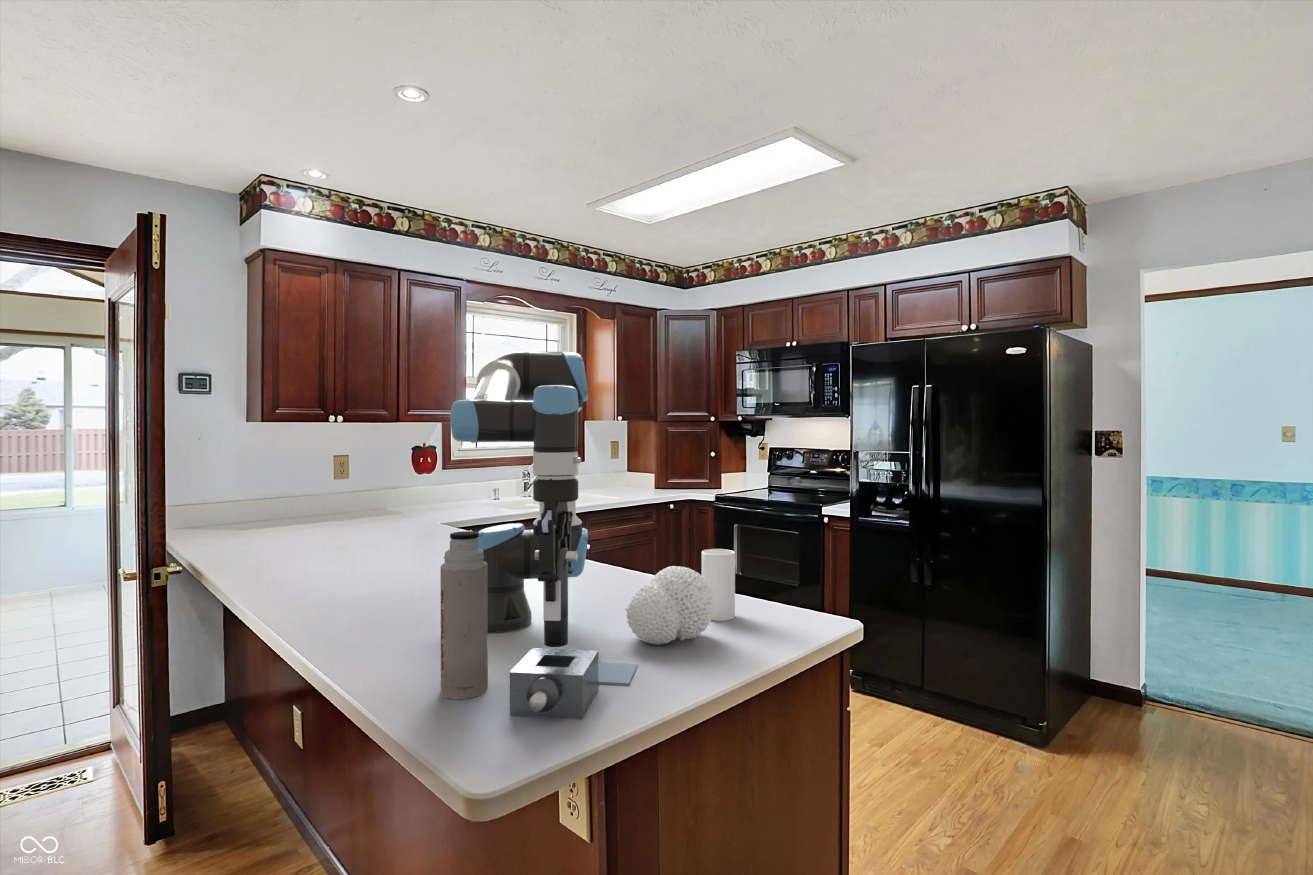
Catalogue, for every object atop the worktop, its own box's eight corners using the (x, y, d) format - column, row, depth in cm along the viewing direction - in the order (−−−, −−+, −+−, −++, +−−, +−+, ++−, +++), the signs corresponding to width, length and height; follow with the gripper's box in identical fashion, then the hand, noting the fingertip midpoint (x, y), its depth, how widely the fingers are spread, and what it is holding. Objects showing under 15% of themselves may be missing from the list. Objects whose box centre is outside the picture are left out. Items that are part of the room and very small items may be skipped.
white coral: (683, 584, 162) (680, 539, 151) (733, 632, 151) (733, 587, 140) (616, 631, 153) (608, 587, 143) (664, 685, 142) (659, 641, 132)
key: (532, 646, 111) (532, 550, 111) (539, 639, 115) (539, 546, 115) (573, 647, 110) (573, 551, 110) (579, 640, 114) (579, 547, 114)
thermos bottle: (435, 700, 114) (435, 536, 113) (446, 682, 122) (446, 529, 121) (483, 698, 114) (483, 535, 114) (491, 681, 122) (490, 528, 122)
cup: (733, 621, 161) (733, 555, 160) (699, 619, 162) (699, 554, 162) (736, 612, 169) (736, 549, 169) (703, 610, 170) (703, 548, 170)
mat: (574, 682, 122) (574, 680, 122) (587, 663, 132) (587, 661, 132) (629, 685, 120) (629, 682, 120) (637, 665, 130) (637, 663, 130)
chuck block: (498, 728, 103) (498, 683, 103) (532, 686, 119) (532, 647, 119) (574, 733, 101) (574, 687, 101) (598, 690, 118) (598, 650, 118)
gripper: (564, 480, 104) (564, 631, 104) (589, 474, 120) (589, 604, 120) (517, 480, 104) (517, 629, 104) (548, 474, 121) (548, 603, 121)
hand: (555, 615), depth 112 cm, fingers closed on key, 4 cm apart
